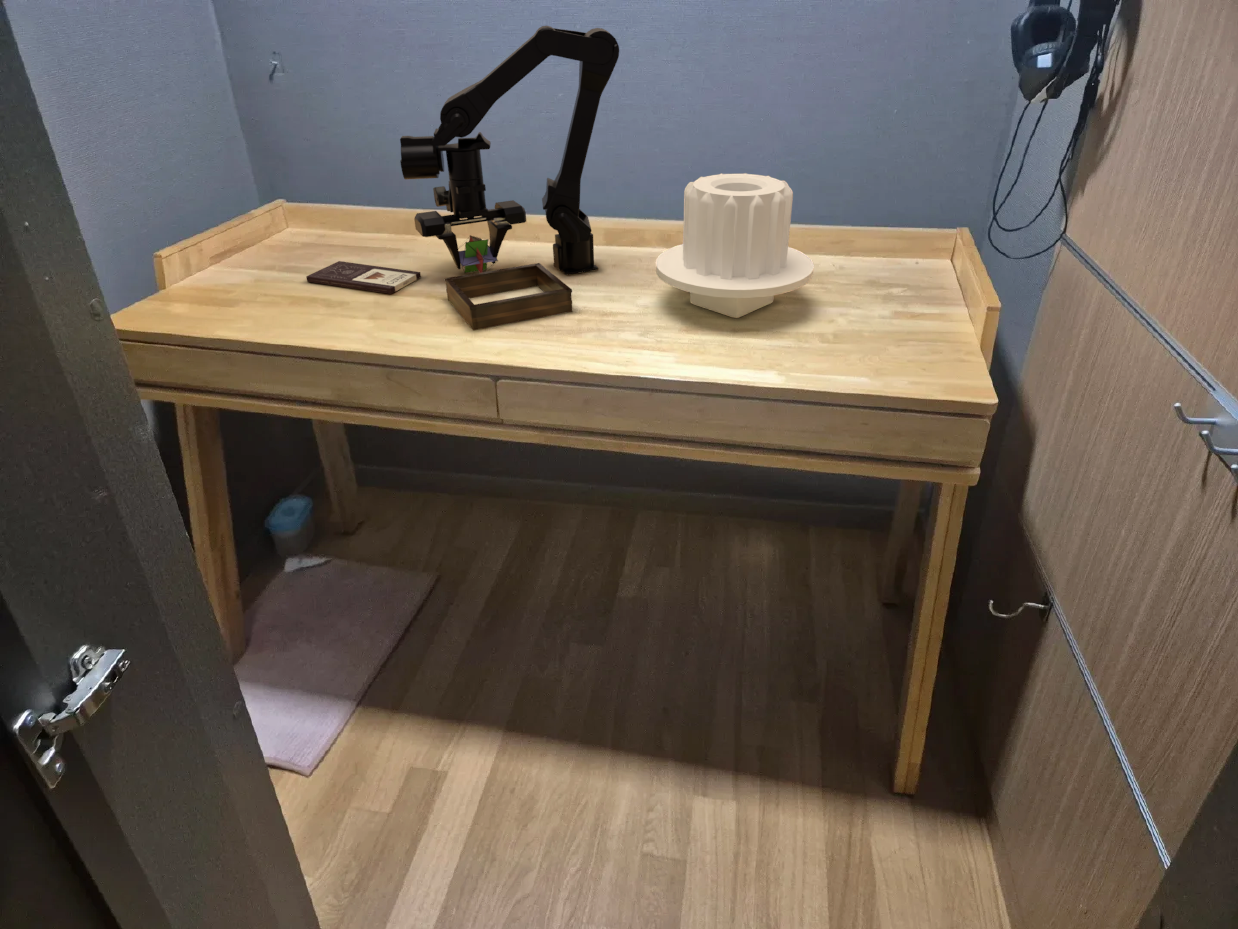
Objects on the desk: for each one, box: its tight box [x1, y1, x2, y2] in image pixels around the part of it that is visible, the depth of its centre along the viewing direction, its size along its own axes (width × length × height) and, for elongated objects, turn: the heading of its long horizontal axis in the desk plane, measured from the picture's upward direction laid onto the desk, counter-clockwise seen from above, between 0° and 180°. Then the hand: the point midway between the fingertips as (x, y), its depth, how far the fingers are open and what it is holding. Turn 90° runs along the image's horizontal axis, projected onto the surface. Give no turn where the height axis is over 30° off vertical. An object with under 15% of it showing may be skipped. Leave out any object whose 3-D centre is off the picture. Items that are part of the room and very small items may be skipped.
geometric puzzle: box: [458, 234, 499, 274], centre depth 146 cm, size 7×7×8 cm
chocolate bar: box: [305, 260, 422, 295], centre depth 145 cm, size 9×1×18 cm
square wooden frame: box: [444, 262, 573, 331], centre depth 133 cm, size 17×15×4 cm
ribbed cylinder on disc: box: [655, 172, 815, 319], centre depth 128 cm, size 25×25×19 cm
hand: (476, 265), depth 147 cm, fingers closed on geometric puzzle, 6 cm apart
